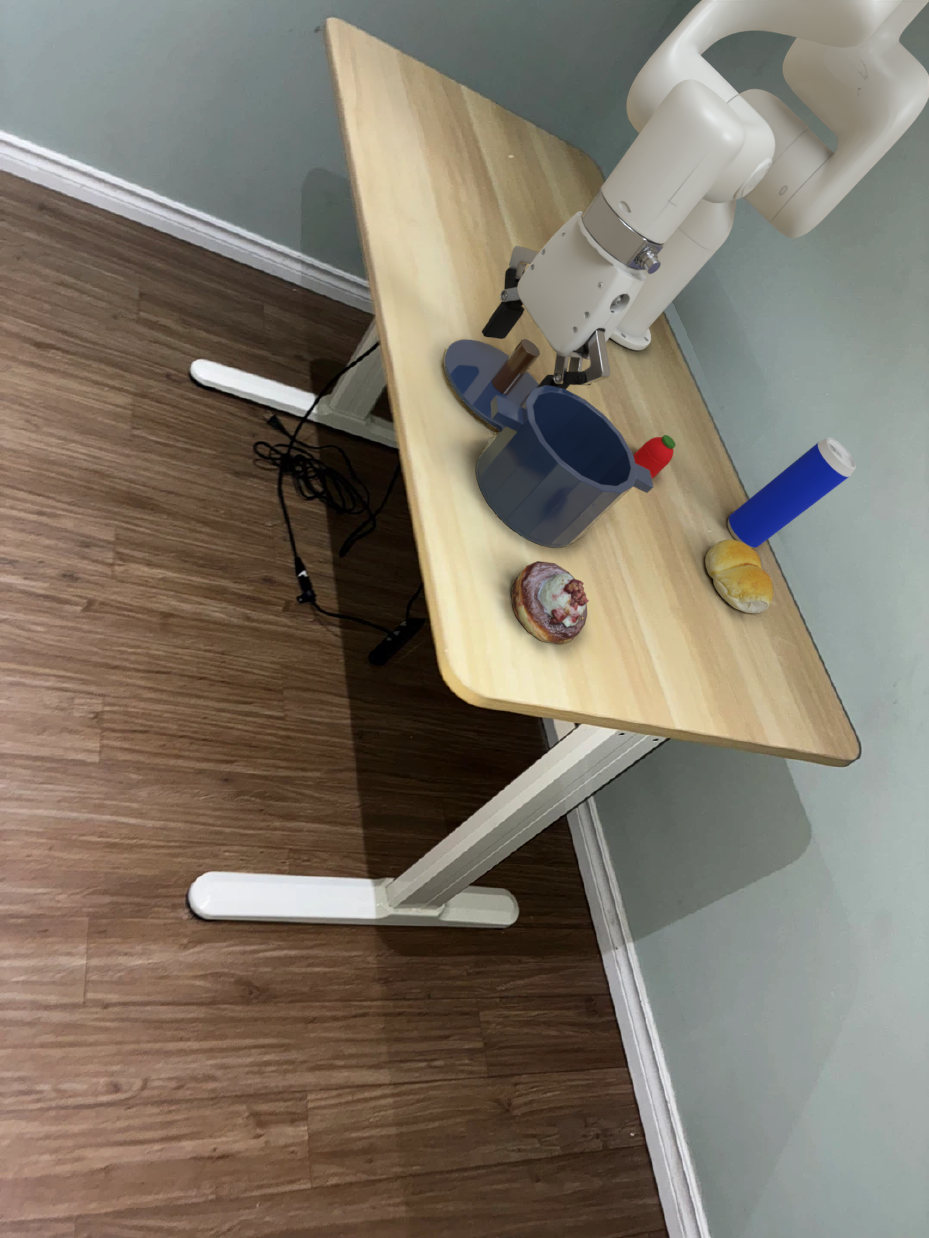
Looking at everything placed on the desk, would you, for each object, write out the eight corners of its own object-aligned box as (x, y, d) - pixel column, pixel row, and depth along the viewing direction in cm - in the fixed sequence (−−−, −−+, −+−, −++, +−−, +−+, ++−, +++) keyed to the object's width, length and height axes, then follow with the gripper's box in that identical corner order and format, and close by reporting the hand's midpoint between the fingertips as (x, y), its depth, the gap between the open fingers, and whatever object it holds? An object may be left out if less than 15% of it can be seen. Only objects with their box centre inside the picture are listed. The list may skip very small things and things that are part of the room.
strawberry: (629, 450, 97) (655, 424, 94) (652, 461, 98) (678, 436, 95) (634, 471, 95) (660, 445, 92) (657, 482, 96) (684, 457, 93)
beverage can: (755, 532, 103) (855, 453, 93) (756, 557, 99) (860, 478, 89) (724, 510, 102) (823, 428, 92) (724, 534, 98) (827, 452, 88)
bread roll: (737, 556, 97) (763, 536, 94) (766, 619, 92) (794, 600, 90) (690, 543, 92) (716, 522, 90) (719, 609, 88) (747, 588, 85)
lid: (439, 328, 88) (471, 279, 84) (540, 380, 94) (575, 337, 90) (441, 409, 80) (477, 359, 76) (552, 460, 86) (591, 417, 82)
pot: (449, 418, 80) (497, 353, 74) (592, 484, 88) (645, 430, 82) (453, 510, 72) (506, 446, 67) (609, 573, 80) (669, 521, 75)
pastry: (540, 656, 68) (577, 624, 65) (491, 583, 70) (524, 549, 66) (592, 631, 74) (629, 601, 70) (546, 565, 75) (579, 533, 72)
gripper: (694, 305, 73) (577, 434, 85) (597, 176, 79) (499, 314, 90) (646, 295, 68) (529, 433, 80) (546, 158, 74) (450, 306, 85)
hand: (513, 370), depth 85 cm, fingers open, 9 cm apart
